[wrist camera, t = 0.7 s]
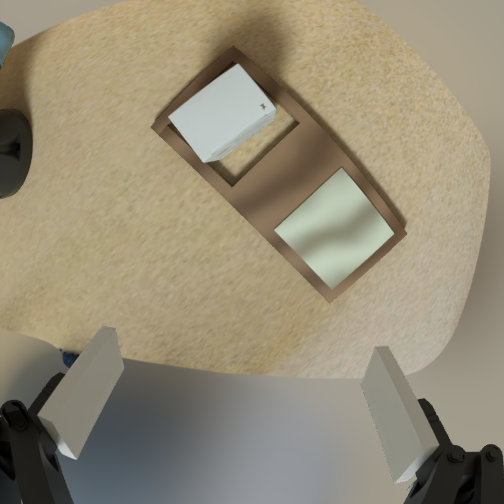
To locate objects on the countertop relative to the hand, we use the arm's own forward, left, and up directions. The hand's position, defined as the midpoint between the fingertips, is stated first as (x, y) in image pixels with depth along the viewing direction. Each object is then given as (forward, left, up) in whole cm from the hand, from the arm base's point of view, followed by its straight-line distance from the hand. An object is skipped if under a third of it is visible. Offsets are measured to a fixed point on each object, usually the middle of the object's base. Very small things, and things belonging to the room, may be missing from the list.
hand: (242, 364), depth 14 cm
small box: (-11, +8, -25) cm, 28 cm away
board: (-2, +8, -24) cm, 26 cm away
